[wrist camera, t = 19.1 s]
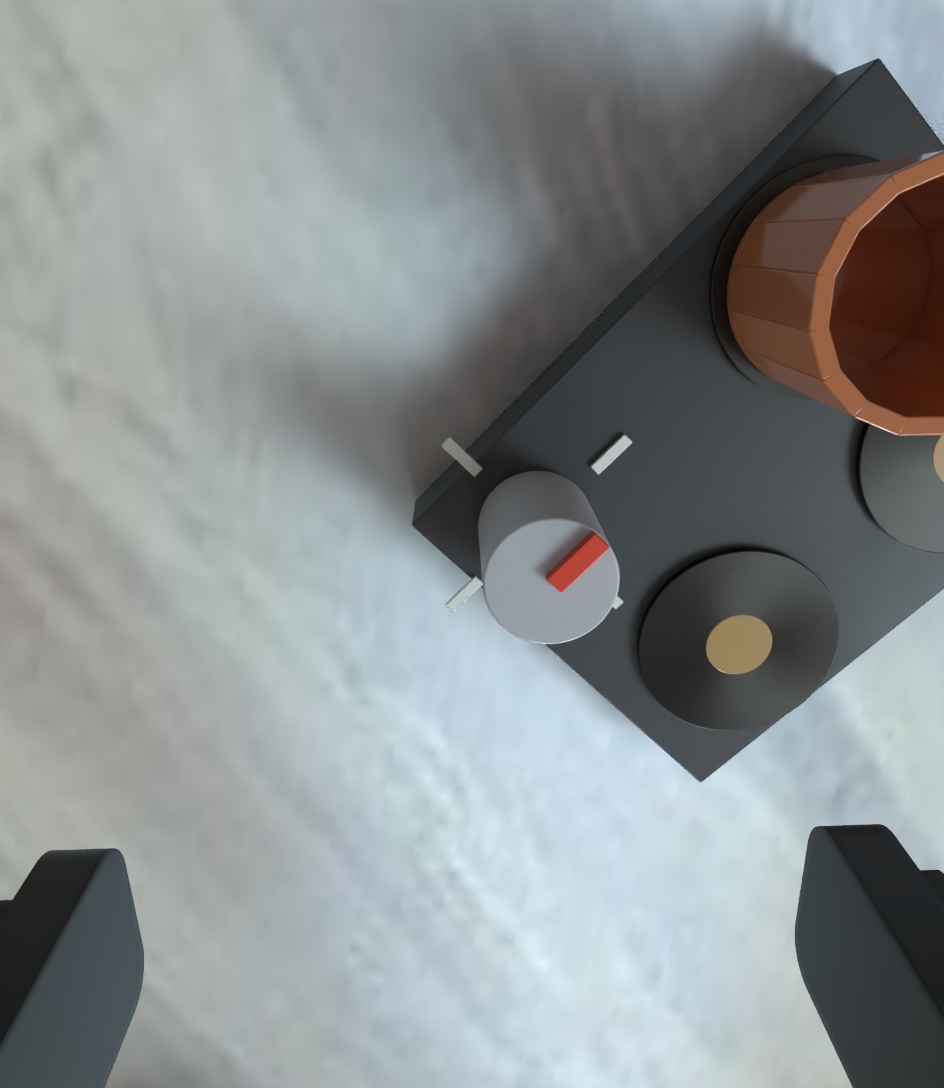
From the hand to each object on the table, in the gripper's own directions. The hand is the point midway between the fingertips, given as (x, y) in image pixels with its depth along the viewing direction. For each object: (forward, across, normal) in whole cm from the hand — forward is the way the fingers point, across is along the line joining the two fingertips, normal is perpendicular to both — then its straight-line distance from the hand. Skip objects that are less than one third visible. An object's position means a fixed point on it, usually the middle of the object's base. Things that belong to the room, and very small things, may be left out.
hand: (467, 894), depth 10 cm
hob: (+19, -10, 0) cm, 22 cm away
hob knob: (+17, -2, +2) cm, 17 cm away
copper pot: (+17, -11, -6) cm, 21 cm away
